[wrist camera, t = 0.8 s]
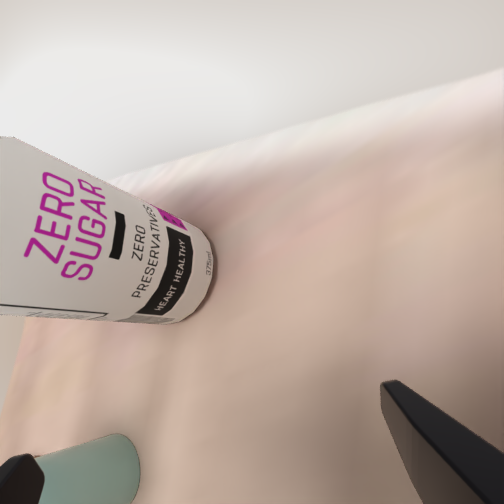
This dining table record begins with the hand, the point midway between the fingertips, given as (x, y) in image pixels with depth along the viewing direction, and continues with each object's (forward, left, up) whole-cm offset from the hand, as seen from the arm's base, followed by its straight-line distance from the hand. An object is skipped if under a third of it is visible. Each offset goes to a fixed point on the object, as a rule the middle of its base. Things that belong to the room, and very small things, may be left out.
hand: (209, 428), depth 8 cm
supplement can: (+12, +8, -12) cm, 19 cm away
